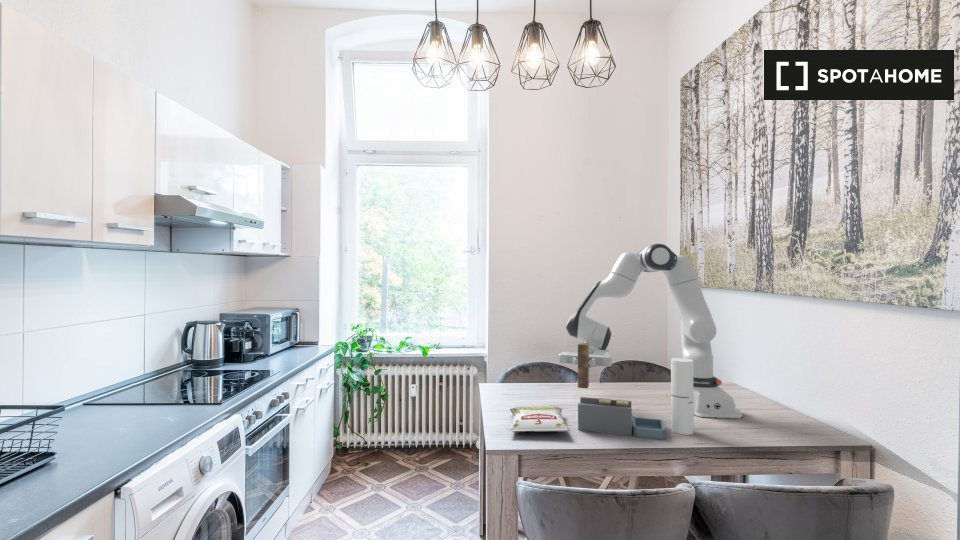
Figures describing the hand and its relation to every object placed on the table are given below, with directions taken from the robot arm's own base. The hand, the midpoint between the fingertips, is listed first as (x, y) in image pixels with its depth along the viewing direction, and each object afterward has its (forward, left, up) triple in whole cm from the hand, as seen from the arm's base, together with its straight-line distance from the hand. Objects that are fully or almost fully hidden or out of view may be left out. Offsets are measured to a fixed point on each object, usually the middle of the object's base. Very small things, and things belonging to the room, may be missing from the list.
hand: (583, 362), depth 166 cm
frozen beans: (+15, +10, -22) cm, 29 cm away
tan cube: (-8, +4, -16) cm, 18 cm away
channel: (-8, +4, -22) cm, 24 cm away
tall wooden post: (0, -1, -9) cm, 9 cm away
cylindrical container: (-34, -1, -22) cm, 41 cm away
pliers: (-12, -15, -23) cm, 30 cm away
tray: (-23, +4, -22) cm, 32 cm away
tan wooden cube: (-14, +4, -16) cm, 22 cm away
